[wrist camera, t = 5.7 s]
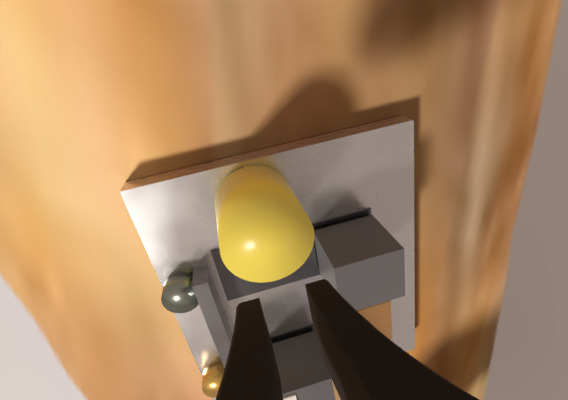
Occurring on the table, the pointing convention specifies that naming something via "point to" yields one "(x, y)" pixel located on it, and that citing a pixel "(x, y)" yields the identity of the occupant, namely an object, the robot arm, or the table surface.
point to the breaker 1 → (303, 369)
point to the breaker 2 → (361, 261)
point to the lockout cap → (261, 225)
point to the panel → (318, 206)
